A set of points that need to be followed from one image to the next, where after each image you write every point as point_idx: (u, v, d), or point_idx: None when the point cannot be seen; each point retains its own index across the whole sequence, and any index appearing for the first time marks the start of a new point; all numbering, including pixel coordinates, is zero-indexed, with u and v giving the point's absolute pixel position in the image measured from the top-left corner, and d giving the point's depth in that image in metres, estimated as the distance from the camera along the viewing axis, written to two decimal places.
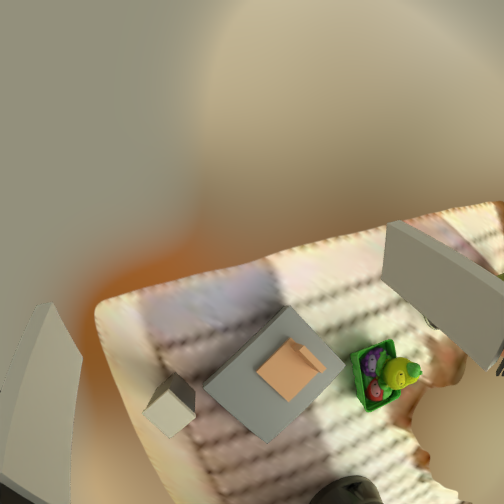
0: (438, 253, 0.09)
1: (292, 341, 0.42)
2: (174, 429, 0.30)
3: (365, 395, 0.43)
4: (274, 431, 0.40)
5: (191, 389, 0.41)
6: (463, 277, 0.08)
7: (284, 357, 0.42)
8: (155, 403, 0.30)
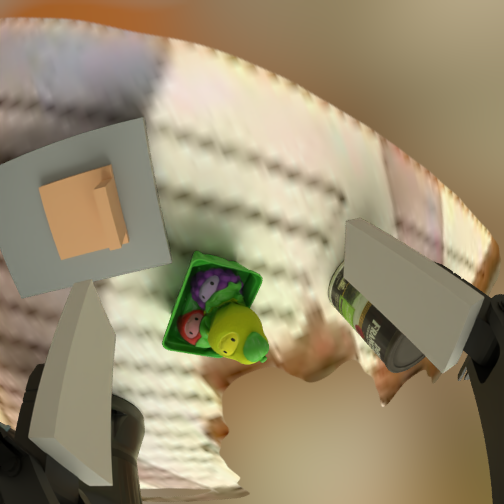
0: (391, 250, 0.09)
1: (108, 172, 0.22)
2: None
3: (177, 322, 0.31)
4: (34, 287, 0.25)
5: None
6: (415, 275, 0.08)
7: (84, 189, 0.22)
8: None
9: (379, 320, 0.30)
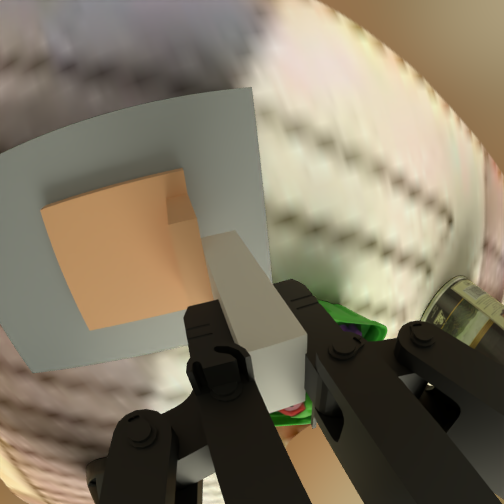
0: (235, 268, 0.09)
1: (180, 183, 0.13)
2: None
3: None
4: (51, 361, 0.15)
5: None
6: None
7: (130, 214, 0.13)
8: None
9: None
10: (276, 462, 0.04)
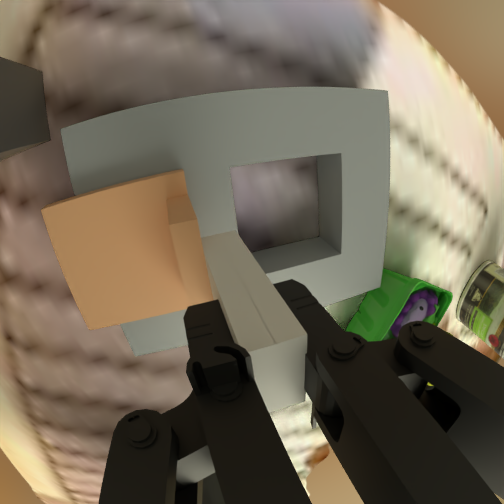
0: (235, 268, 0.09)
1: (180, 184, 0.13)
2: None
3: None
4: (166, 339, 0.17)
5: (41, 127, 0.12)
6: None
7: (131, 215, 0.13)
8: None
9: None
10: (276, 462, 0.04)
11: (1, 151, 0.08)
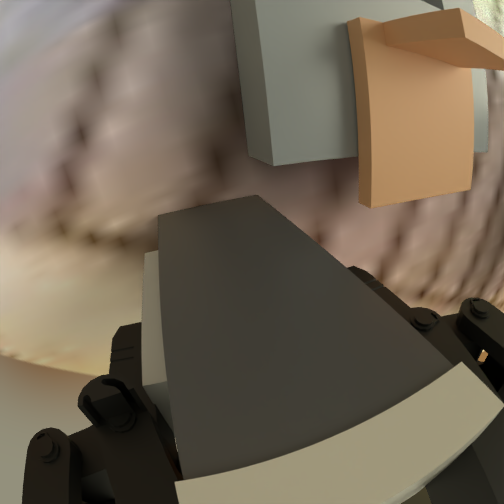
0: None
1: (372, 25, 0.07)
2: (417, 490, 0.04)
3: None
4: (481, 112, 0.11)
5: (245, 204, 0.12)
6: None
7: (397, 91, 0.09)
8: None
9: None
10: (169, 493, 0.03)
11: (325, 252, 0.08)
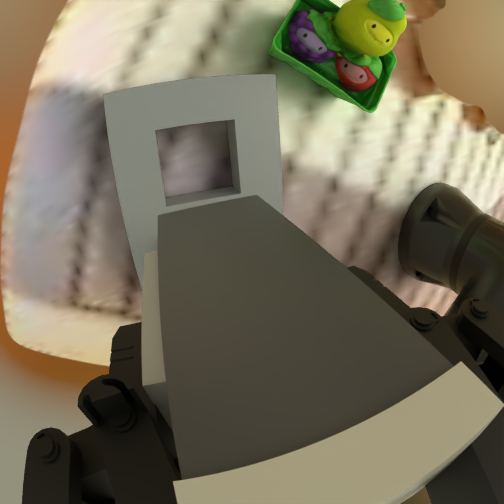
0: None
1: None
2: (416, 491, 0.04)
3: (347, 89, 0.23)
4: None
5: (244, 204, 0.12)
6: None
7: None
8: None
9: None
10: (169, 493, 0.03)
11: (324, 251, 0.08)
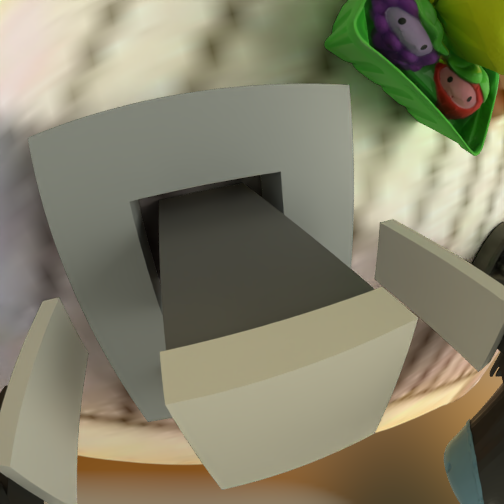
0: (430, 252, 0.09)
1: None
2: (368, 417, 0.06)
3: (443, 115, 0.13)
4: None
5: (231, 190, 0.14)
6: (455, 276, 0.08)
7: None
8: (207, 459, 0.05)
9: None
10: None
11: (289, 220, 0.10)
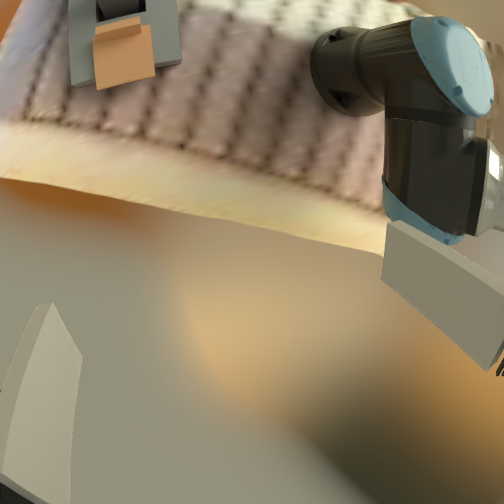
0: (438, 253, 0.09)
1: (96, 38, 0.24)
2: None
3: None
4: (172, 43, 0.28)
5: None
6: (463, 277, 0.08)
7: (104, 54, 0.25)
8: None
9: None
10: None
11: None
